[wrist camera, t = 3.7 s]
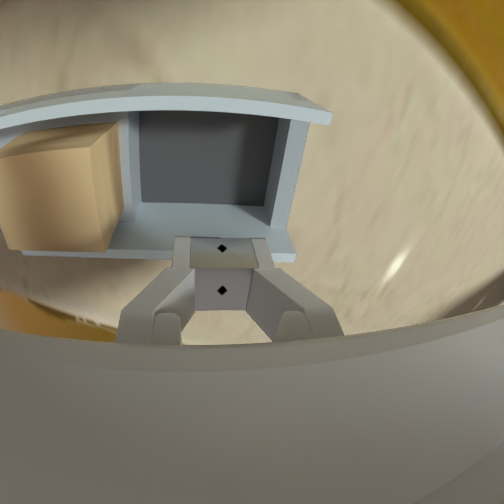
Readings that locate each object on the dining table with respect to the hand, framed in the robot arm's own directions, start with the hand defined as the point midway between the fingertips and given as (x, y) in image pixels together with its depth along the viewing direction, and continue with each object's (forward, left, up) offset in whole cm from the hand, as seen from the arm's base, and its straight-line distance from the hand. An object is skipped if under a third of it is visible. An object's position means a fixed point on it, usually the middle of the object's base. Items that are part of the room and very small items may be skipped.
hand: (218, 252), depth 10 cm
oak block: (+8, 0, -6) cm, 10 cm away
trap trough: (+8, 0, -9) cm, 12 cm away
